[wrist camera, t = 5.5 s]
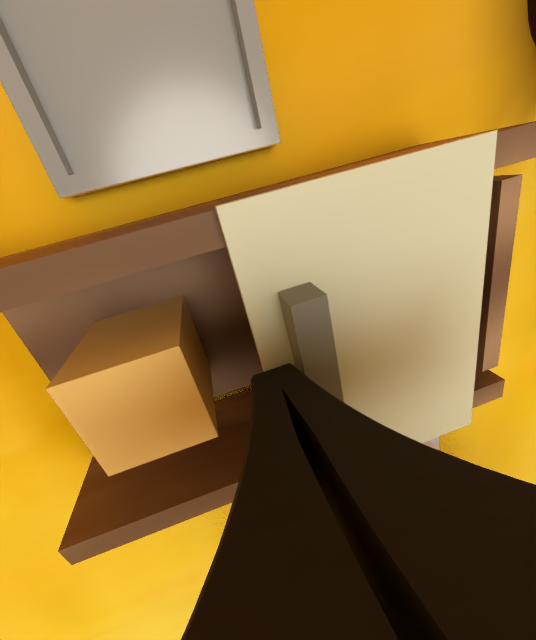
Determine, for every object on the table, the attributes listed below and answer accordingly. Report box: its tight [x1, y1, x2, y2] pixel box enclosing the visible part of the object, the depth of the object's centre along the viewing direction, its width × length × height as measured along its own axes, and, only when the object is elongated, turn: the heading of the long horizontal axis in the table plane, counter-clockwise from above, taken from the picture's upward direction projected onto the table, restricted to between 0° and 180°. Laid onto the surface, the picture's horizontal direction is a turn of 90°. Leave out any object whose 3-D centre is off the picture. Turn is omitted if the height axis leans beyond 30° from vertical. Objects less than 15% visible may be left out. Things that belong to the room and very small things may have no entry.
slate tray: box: [0, 0, 280, 198], centre depth 10 cm, size 8×8×1 cm
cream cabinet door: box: [215, 130, 497, 443], centre depth 10 cm, size 11×8×2 cm
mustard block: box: [46, 295, 218, 476], centre depth 12 cm, size 4×4×5 cm
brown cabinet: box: [0, 121, 536, 565], centre depth 13 cm, size 11×20×5 cm, turn 104°
